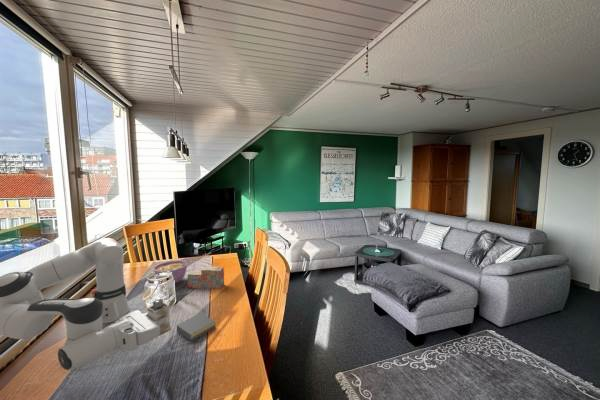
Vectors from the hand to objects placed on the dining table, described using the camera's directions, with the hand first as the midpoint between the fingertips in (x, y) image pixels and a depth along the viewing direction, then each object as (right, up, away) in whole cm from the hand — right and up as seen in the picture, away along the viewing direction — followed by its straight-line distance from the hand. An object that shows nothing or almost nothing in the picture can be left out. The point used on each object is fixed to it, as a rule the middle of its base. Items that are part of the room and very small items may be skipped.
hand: (161, 315), depth 100 cm
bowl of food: (-29, -8, +65) cm, 71 cm away
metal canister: (-1, +3, -1) cm, 4 cm away
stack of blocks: (-4, -9, +58) cm, 59 cm away
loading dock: (+9, -13, +14) cm, 21 cm away
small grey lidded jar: (-1, -6, 0) cm, 6 cm away
